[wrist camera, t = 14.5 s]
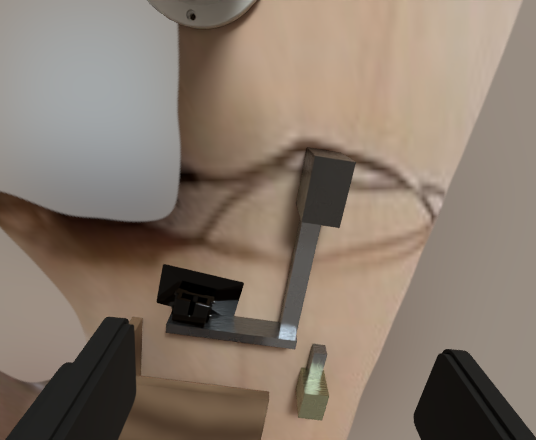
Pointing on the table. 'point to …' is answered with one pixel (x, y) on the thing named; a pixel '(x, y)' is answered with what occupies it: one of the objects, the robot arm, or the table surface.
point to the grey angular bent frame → (311, 218)
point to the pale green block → (313, 386)
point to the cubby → (191, 408)
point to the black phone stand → (197, 295)
